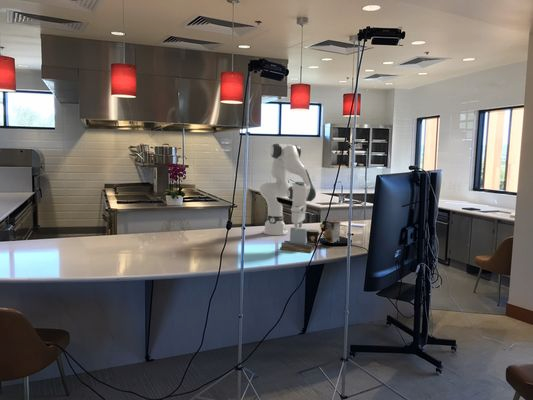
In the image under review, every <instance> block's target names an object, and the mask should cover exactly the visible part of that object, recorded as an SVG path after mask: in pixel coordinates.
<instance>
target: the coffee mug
mask: <svg viewBox="0 0 533 400" xmlns="http://www.w3.org/2000/svg"><path fill="white" fill-rule="evenodd" d="M321 233H322V236H323V237H321V238H319V236H320V235H321ZM323 239H324V232H319V230H318V229H307V236H306V243H315V246H316V244H317V245H318V242H319V241H321V240H323Z"/></svg>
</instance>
